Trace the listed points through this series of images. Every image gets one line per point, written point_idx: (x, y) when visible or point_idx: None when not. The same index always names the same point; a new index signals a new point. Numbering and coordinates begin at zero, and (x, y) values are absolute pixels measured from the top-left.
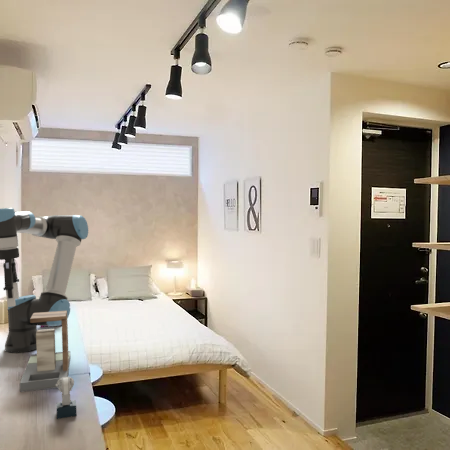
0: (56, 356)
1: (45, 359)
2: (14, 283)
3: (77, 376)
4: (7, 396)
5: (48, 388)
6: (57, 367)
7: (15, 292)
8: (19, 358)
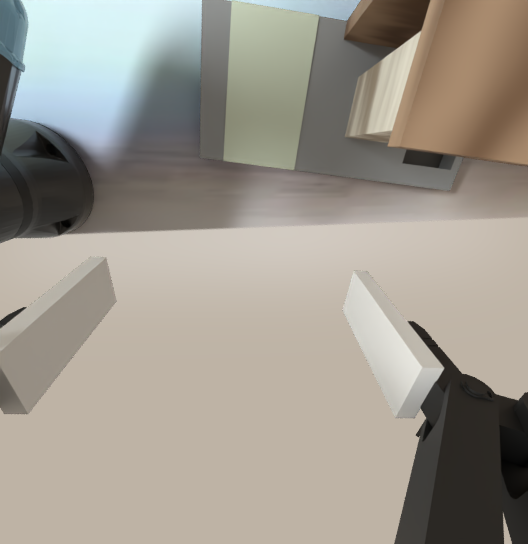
0: (261, 66)
1: None
2: (13, 374)
3: None
4: (444, 214)
5: None
6: None
7: (81, 304)
8: (153, 192)
